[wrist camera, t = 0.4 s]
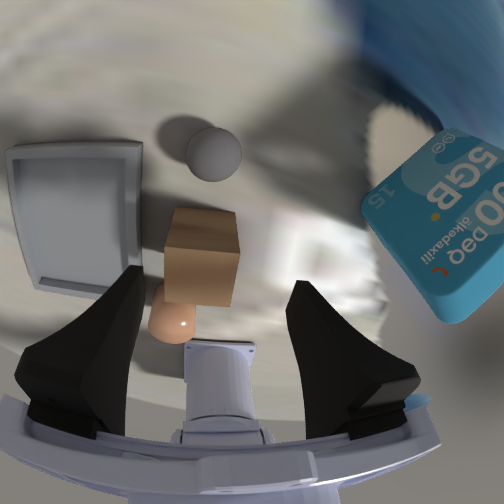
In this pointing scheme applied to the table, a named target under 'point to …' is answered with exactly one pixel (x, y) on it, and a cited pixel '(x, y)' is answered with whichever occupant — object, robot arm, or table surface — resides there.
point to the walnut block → (201, 257)
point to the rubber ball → (213, 154)
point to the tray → (77, 212)
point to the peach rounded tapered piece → (171, 319)
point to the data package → (445, 221)
